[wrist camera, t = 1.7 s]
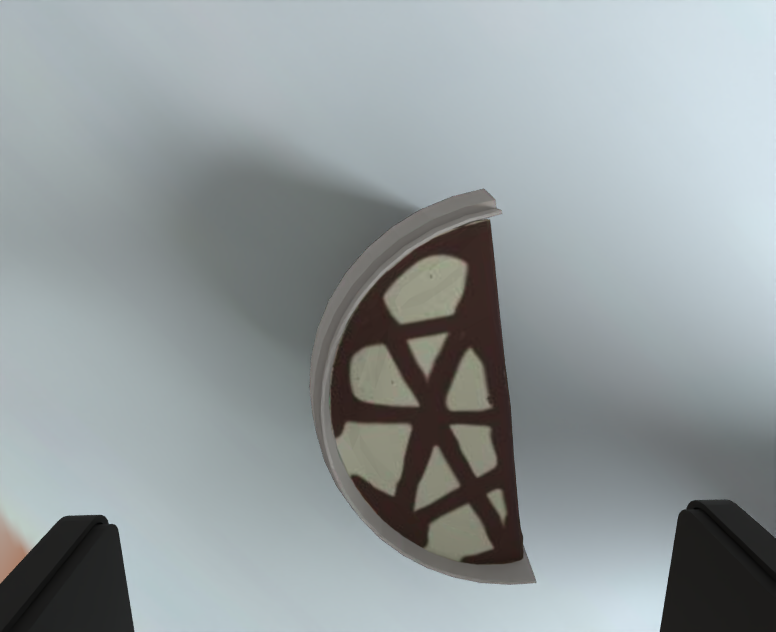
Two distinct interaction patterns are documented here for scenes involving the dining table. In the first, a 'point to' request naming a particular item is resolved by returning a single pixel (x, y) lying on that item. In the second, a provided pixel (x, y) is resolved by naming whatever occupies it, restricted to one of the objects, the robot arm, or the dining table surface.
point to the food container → (424, 395)
